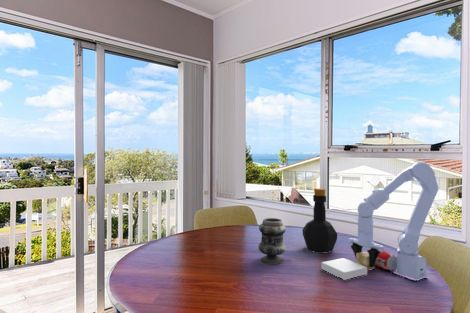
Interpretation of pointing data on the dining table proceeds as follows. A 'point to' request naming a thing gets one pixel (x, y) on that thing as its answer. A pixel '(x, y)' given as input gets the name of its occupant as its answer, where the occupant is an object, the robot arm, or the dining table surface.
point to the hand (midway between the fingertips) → (365, 264)
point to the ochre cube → (363, 259)
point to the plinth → (344, 268)
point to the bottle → (319, 227)
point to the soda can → (386, 260)
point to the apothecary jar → (272, 240)
